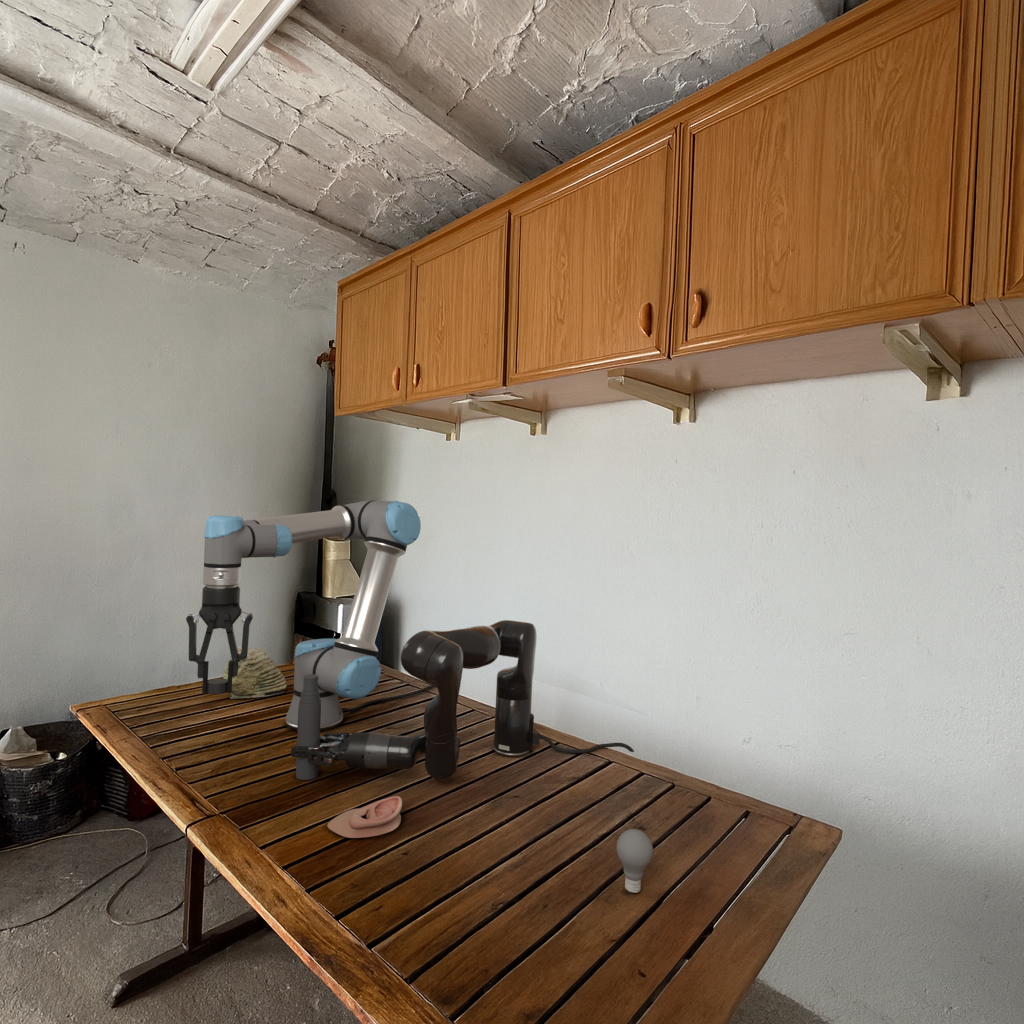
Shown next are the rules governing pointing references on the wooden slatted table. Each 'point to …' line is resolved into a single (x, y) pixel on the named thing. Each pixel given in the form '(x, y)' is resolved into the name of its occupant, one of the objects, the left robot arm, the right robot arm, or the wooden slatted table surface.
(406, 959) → the wooden slatted table surface
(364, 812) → the anatomical model
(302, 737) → the bottle
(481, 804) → the wooden slatted table surface
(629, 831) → the light bulb
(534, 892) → the wooden slatted table surface
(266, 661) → the fossil
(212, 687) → the cap
